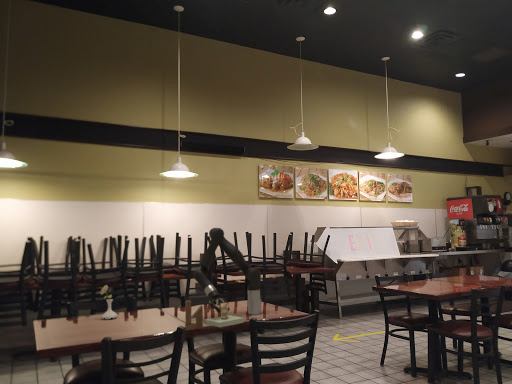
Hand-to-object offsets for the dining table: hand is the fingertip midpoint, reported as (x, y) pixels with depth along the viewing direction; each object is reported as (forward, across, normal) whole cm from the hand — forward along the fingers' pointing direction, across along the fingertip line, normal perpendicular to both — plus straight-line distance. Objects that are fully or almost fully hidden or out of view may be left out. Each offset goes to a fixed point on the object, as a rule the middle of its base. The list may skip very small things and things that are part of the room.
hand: (224, 311), depth 282 cm
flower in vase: (-56, -32, +68) cm, 94 cm away
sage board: (+6, 0, +5) cm, 8 cm away
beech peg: (+5, 0, +6) cm, 8 cm away
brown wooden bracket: (+3, -24, +9) cm, 25 cm away
